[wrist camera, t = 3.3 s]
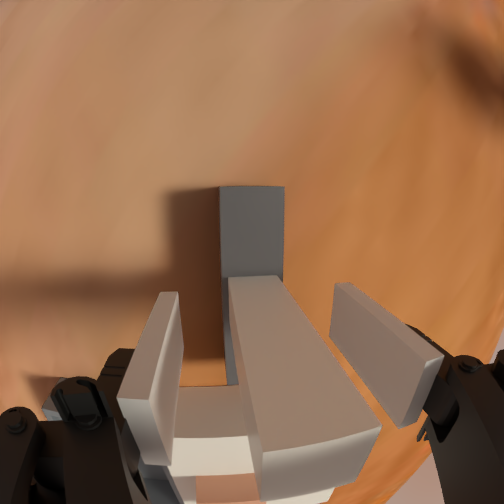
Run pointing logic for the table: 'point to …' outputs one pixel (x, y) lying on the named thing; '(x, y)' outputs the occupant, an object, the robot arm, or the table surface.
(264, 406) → the scraper
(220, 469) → the plate
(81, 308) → the table surface
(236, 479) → the tile
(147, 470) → the box
